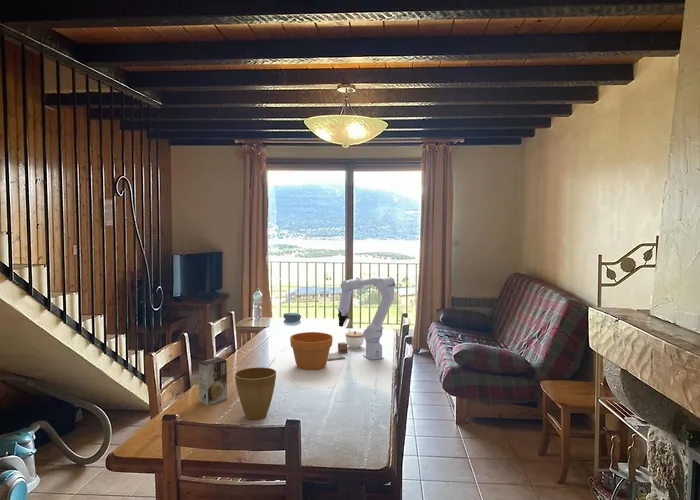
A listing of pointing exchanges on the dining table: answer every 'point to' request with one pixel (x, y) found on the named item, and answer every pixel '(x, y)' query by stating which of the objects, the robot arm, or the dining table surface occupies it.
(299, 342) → the flower pot
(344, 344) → the walnut block
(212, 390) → the coffee box
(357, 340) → the lidded jar
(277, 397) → the dining table surface
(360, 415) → the dining table surface
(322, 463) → the dining table surface
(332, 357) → the slate tile
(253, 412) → the plant pot
